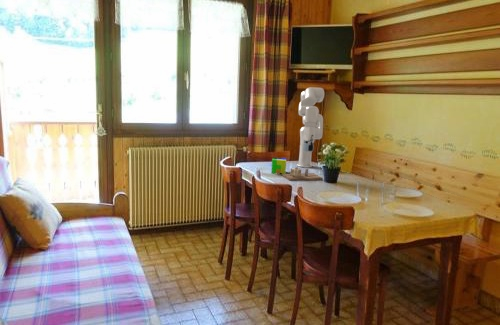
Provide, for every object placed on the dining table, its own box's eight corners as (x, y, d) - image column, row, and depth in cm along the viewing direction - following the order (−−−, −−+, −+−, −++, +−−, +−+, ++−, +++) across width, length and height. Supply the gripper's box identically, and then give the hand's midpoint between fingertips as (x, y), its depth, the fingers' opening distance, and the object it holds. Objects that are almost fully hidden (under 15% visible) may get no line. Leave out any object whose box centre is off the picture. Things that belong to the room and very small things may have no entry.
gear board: (282, 175, 275) (283, 165, 274) (313, 175, 282) (314, 165, 280) (289, 180, 262) (290, 169, 260) (322, 180, 268) (323, 169, 267)
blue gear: (301, 150, 277) (302, 143, 277) (310, 150, 279) (311, 143, 278) (305, 151, 271) (306, 144, 270) (314, 151, 273) (315, 144, 272)
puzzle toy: (285, 171, 290) (286, 158, 288) (285, 174, 280) (286, 160, 279) (271, 170, 291) (272, 157, 289) (271, 173, 281) (272, 159, 279)
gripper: (300, 123, 279) (298, 148, 282) (310, 125, 263) (308, 151, 266) (310, 123, 281) (308, 148, 284) (320, 125, 265) (318, 151, 268)
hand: (308, 149), depth 275 cm, fingers closed on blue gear, 6 cm apart
